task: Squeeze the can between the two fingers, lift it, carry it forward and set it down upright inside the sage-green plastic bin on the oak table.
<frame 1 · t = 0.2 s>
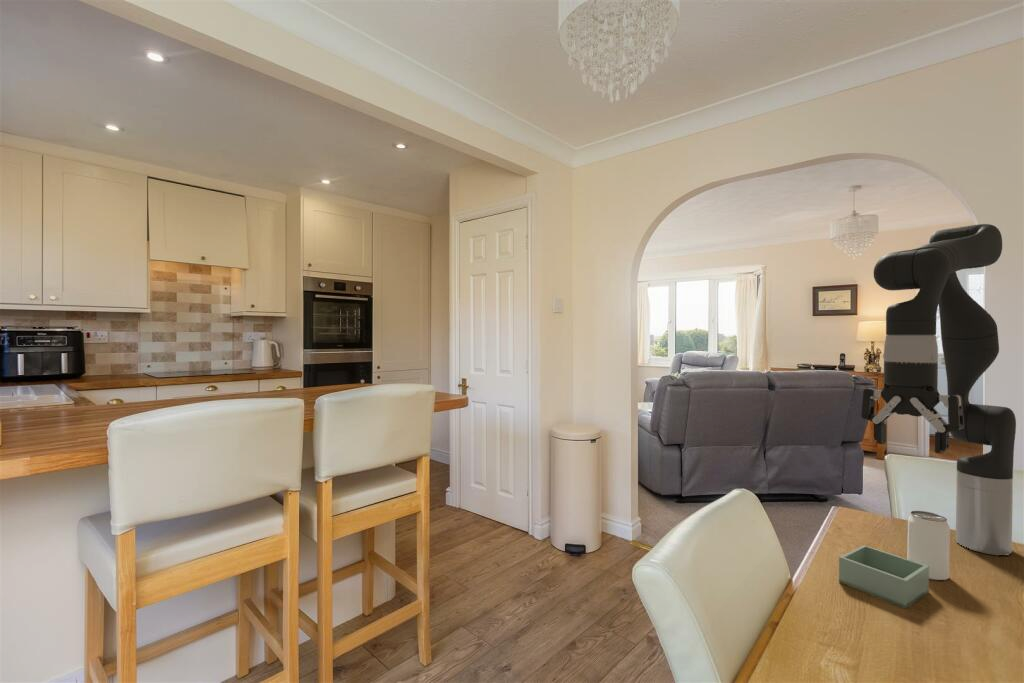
hand: (909, 448, 86), 28 cm above the table, tool pointing down, fingers open, 8 cm apart
bin: (882, 587, 91), on the table
can: (927, 574, 96), on the table
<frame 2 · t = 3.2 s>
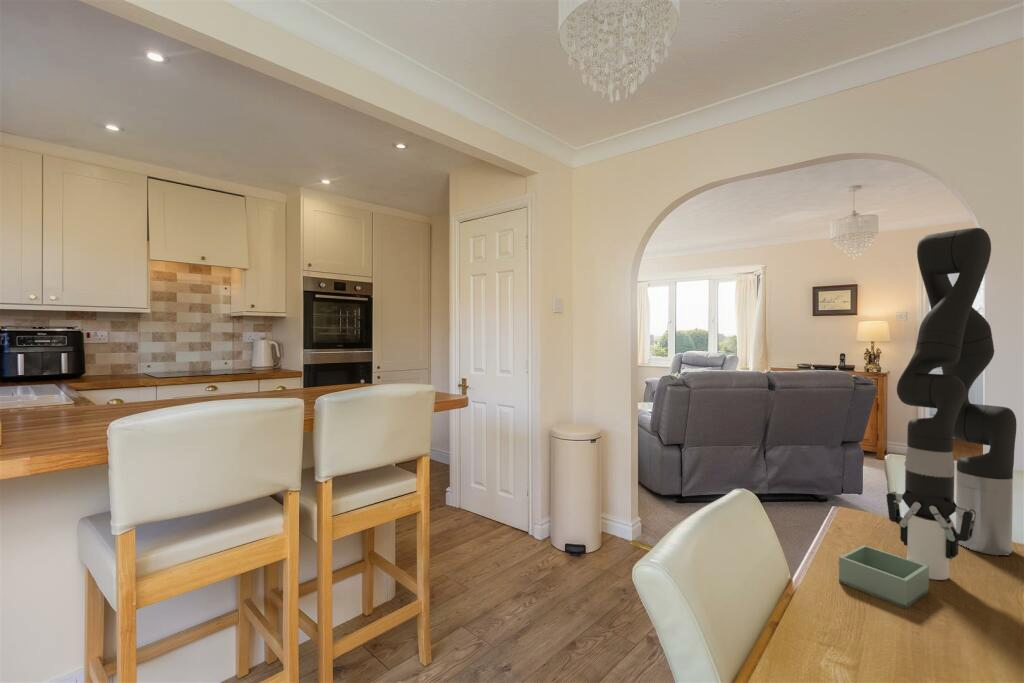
hand: (928, 550, 96), 5 cm above the table, tool pointing down, fingers closed on can, 6 cm apart
can: (927, 574, 96), on the table, touching gripper
when the fingers open (6 cm above the table, at t = 8.4 s): can drops 1 cm, resting on bin.
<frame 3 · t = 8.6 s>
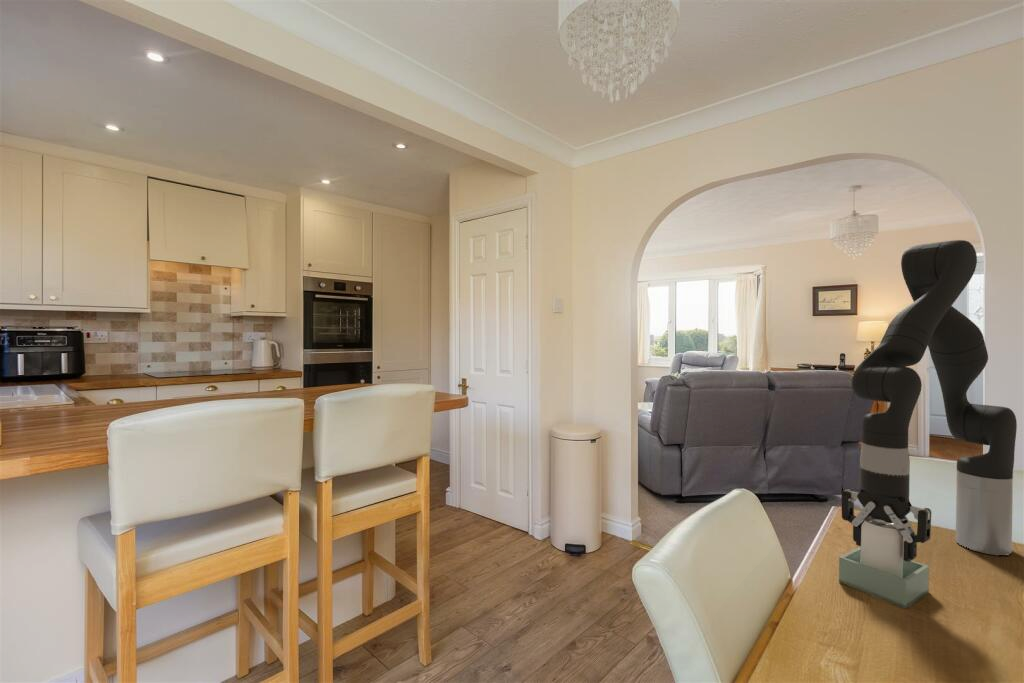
hand: (883, 552, 91), 7 cm above the table, tool pointing down, fingers open, 7 cm apart
can: (880, 583, 91), resting on bin, touching gripper
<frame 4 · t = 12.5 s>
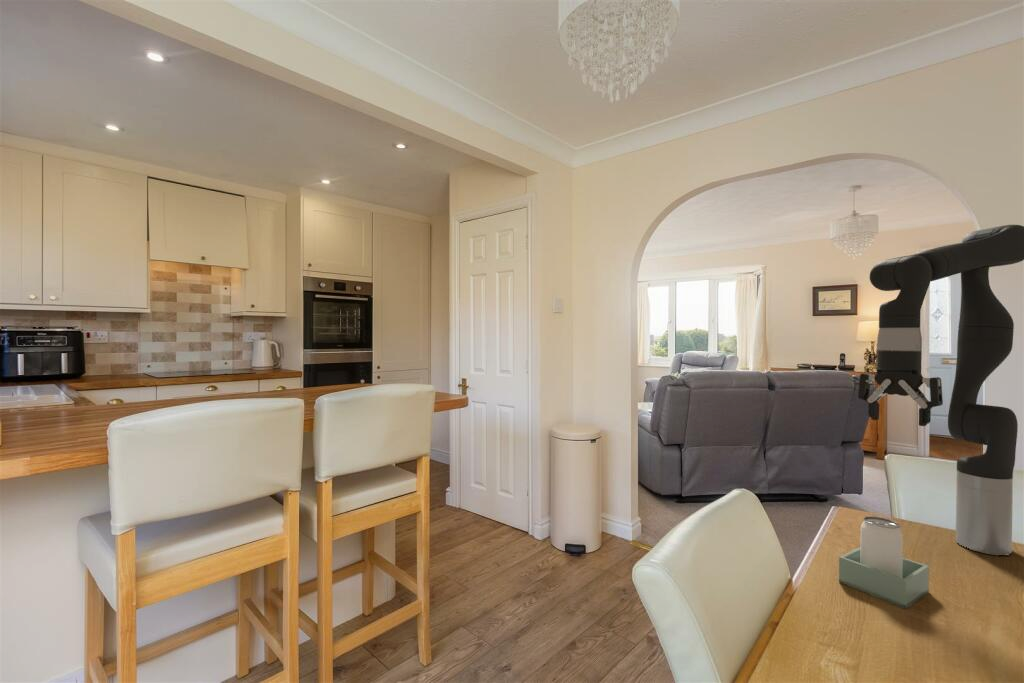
hand: (897, 422, 102), 30 cm above the table, tool pointing down, fingers open, 8 cm apart
can: (880, 584, 91), resting on bin
at the end: can inside the target area on the bin (0.4 cm from its centre), point 0.4 cm above the bin's base; can tilted 0°; the gripper is holding nothing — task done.
